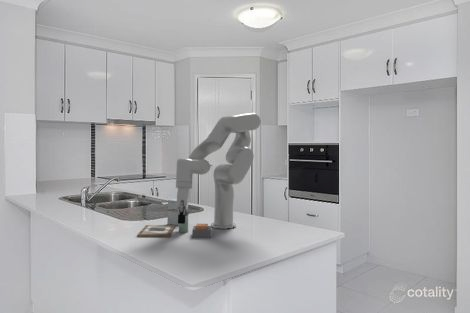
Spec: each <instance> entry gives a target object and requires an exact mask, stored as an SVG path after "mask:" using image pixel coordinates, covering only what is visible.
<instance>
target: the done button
mask: <svg viewBox="0 0 470 313" xmlns="http://www.w3.org/2000/svg"><path fill="white" fill-rule="evenodd" d="M195 226H196V229H208V226H209V225H208V223H196V225H195Z"/></svg>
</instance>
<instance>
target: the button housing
mask: <svg viewBox="0 0 470 313" xmlns="http://www.w3.org/2000/svg"><path fill="white" fill-rule="evenodd" d="M192 227H193V228H192V236H191V237H192V238H193V239H194V238H195V239H198V238H199V239H211V238H212V226H211V225H208V229H196V225H193V226H192Z"/></svg>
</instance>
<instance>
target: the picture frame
mask: <svg viewBox="0 0 470 313" xmlns="http://www.w3.org/2000/svg"><path fill="white" fill-rule="evenodd" d="M175 228H176V225H172V224H165V225H162V224H157V225H156V224H145V226H144V227H143V228H142V229H141V230H140V231H139V232H138V233H137V235H136V238H170V237H171V235H172V234H173V232H174V230H175Z"/></svg>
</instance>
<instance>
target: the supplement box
mask: <svg viewBox="0 0 470 313" xmlns="http://www.w3.org/2000/svg"><path fill="white" fill-rule="evenodd" d="M176 204H177V198H171V199H168V200H167V224H166V225H175V226H178V227H179V223H178V215H179V209H178V210H177V209H176Z"/></svg>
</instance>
